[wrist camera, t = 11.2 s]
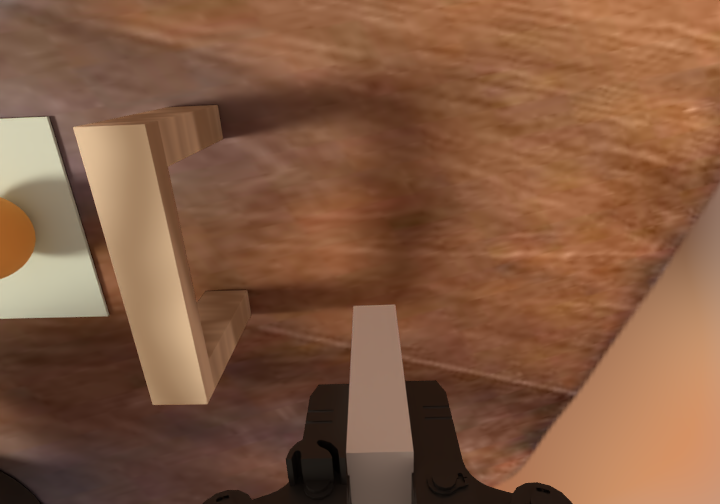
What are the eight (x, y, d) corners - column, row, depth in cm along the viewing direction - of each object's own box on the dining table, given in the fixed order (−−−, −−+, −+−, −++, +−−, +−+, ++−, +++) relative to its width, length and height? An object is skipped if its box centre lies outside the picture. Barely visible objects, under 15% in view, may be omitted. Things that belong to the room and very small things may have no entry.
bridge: (217, 104, 26) (144, 124, 18) (251, 314, 32) (207, 404, 24) (168, 106, 27) (73, 127, 18) (210, 315, 32) (152, 404, 24)
